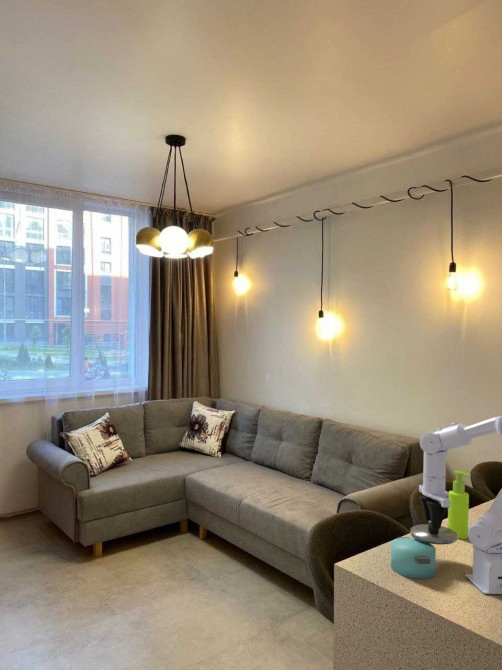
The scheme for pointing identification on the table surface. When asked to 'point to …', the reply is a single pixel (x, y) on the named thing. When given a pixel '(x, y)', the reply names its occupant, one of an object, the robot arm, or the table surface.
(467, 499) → the soap dispenser
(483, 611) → the table surface
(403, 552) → the pot
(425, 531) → the lid
